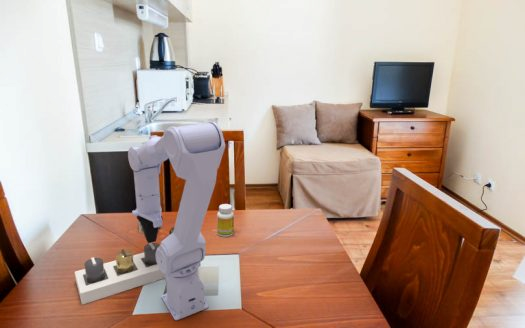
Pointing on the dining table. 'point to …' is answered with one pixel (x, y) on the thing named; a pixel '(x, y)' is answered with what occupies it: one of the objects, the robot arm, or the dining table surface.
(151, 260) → the black knob
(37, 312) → the dining table surface
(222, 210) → the supplement bottle
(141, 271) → the control deck
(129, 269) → the brass knob middle
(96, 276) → the black knob
